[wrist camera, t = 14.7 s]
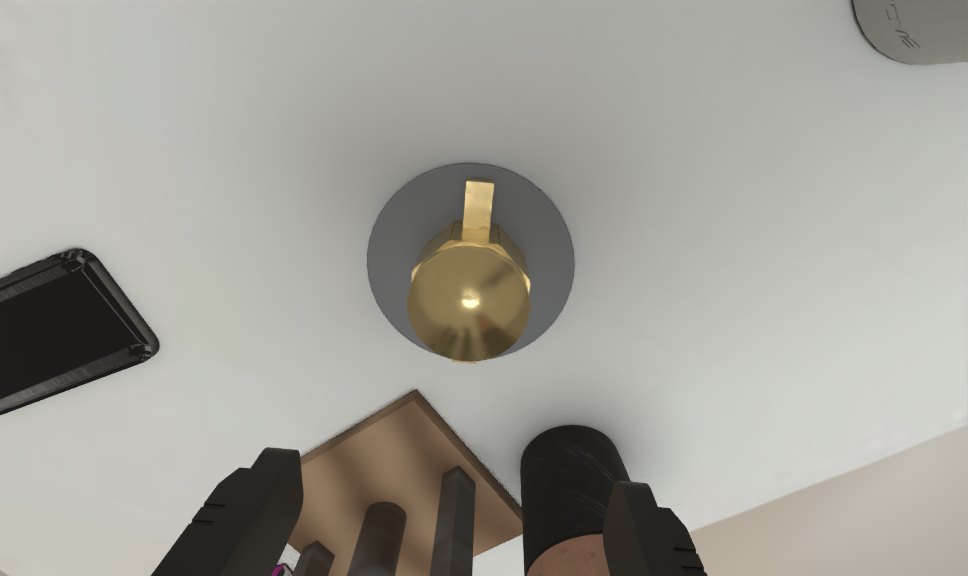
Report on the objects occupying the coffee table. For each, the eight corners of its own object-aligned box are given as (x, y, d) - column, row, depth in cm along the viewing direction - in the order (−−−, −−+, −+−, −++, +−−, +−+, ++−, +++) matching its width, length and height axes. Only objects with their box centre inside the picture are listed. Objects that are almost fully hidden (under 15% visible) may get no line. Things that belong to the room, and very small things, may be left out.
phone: (159, 356, 28) (-23, 423, 30) (170, 347, 29) (-6, 413, 31) (74, 244, 25) (-119, 327, 28) (90, 239, 26) (-97, 319, 29)
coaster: (498, 116, 23) (498, 117, 23) (609, 292, 27) (612, 296, 26) (327, 241, 26) (323, 244, 25) (449, 385, 30) (448, 391, 29)
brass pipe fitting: (426, 172, 24) (410, 189, 19) (534, 183, 24) (545, 203, 19) (419, 345, 28) (403, 396, 23) (511, 353, 28) (515, 405, 23)
